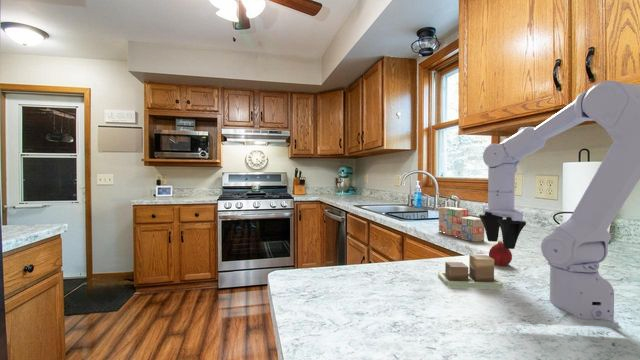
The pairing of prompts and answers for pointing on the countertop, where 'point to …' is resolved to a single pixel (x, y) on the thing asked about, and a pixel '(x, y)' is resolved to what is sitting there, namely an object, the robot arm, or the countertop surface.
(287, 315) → the countertop surface
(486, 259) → the two tone block
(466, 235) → the stack of blocks
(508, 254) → the onion
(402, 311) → the countertop surface
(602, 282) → the robot arm
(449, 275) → the walnut block
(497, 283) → the base plate
